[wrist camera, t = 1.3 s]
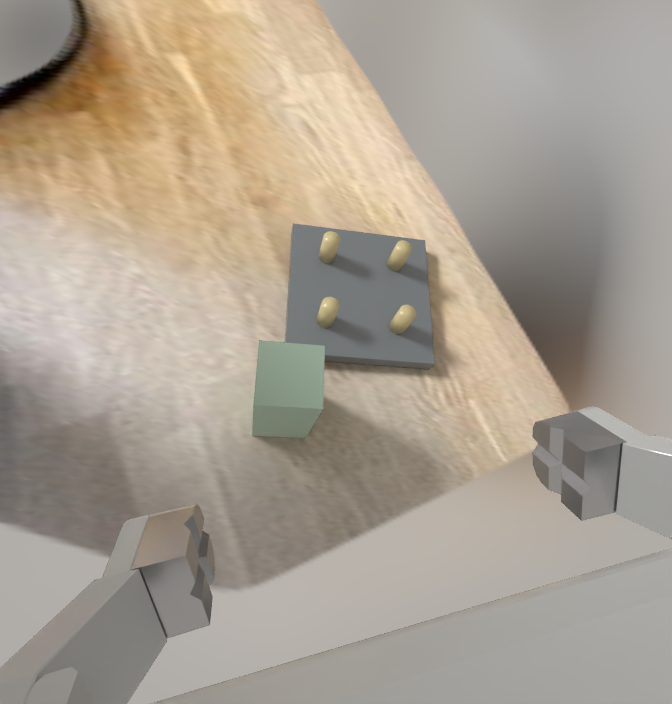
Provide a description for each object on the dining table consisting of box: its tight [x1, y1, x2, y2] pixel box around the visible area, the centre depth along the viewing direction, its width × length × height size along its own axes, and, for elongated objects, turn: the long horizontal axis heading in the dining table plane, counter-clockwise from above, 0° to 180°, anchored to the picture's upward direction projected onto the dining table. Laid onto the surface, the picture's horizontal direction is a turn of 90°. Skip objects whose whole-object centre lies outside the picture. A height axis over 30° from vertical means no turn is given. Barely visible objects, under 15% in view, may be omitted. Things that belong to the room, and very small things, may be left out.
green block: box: [252, 340, 325, 438], centre depth 34 cm, size 4×4×10 cm
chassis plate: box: [285, 224, 435, 369], centre depth 42 cm, size 14×14×4 cm
